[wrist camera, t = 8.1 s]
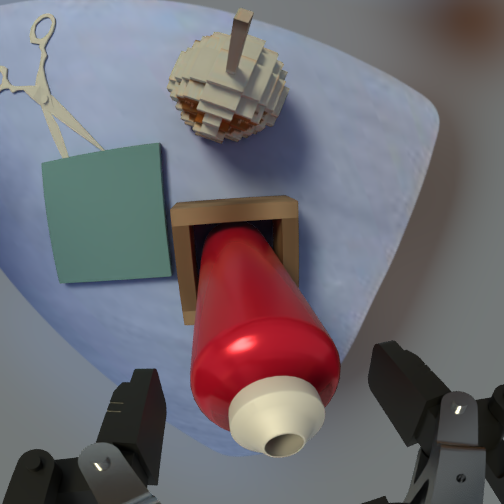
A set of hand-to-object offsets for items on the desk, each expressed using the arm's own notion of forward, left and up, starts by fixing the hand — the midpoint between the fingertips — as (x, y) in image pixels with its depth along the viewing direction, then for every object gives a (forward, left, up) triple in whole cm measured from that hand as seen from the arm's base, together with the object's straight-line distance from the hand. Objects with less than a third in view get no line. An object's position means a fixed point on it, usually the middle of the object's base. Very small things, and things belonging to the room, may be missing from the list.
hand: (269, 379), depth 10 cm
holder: (0, -1, -17) cm, 17 cm away
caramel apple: (0, +13, -17) cm, 21 cm away
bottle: (0, 0, -17) cm, 17 cm away
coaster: (-11, +4, -17) cm, 21 cm away
